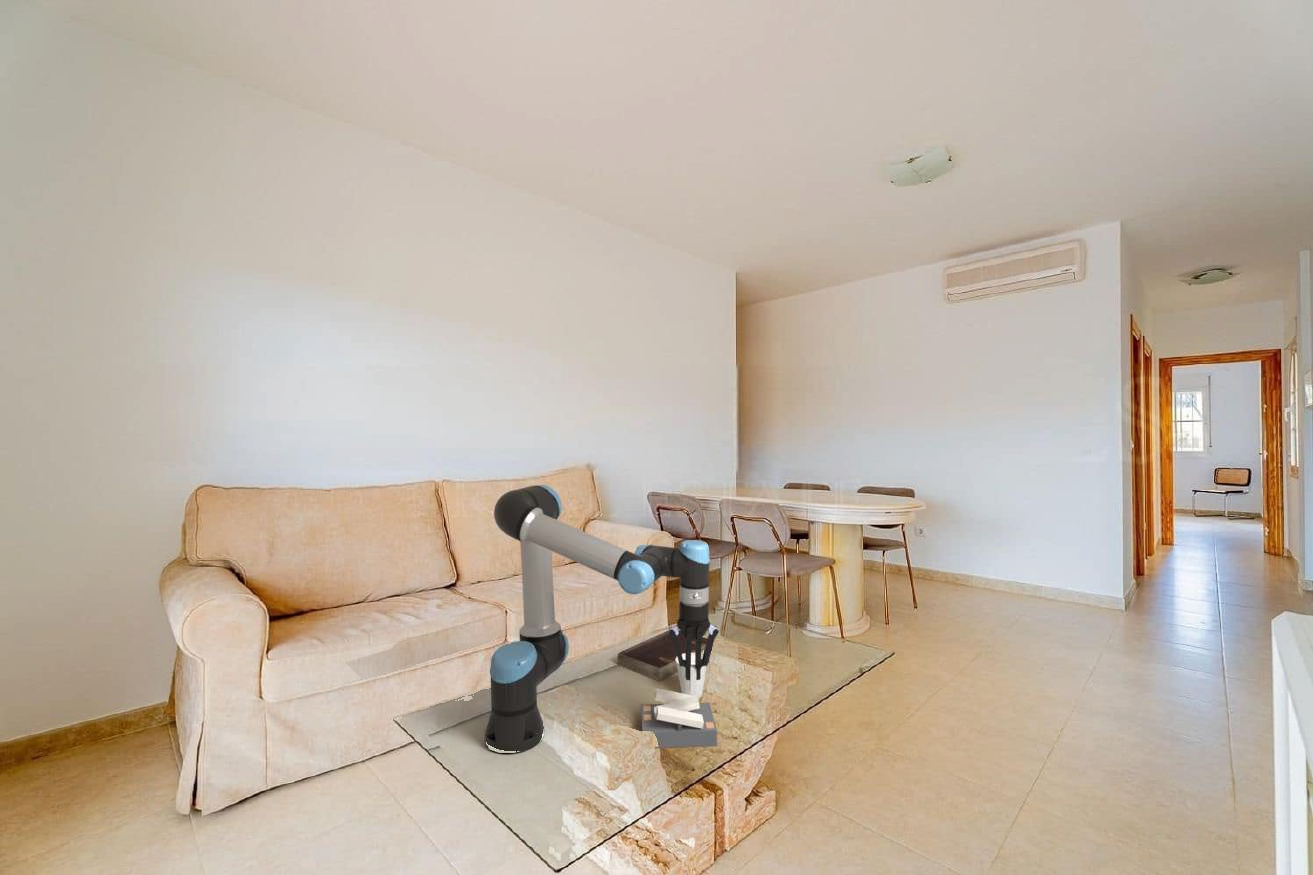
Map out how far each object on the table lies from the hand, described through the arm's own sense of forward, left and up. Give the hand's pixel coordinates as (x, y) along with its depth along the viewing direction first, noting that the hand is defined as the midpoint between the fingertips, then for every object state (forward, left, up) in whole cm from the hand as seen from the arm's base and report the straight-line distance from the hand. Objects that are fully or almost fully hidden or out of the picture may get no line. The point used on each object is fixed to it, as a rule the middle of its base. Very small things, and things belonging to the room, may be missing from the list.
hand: (692, 691), depth 144 cm
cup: (+2, +24, -13) cm, 27 cm away
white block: (-4, +5, -7) cm, 9 cm away
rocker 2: (-4, 0, -7) cm, 8 cm away
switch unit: (-4, +5, -13) cm, 14 cm away
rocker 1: (-4, +9, -7) cm, 12 cm away
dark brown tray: (-4, +50, -14) cm, 52 cm away
